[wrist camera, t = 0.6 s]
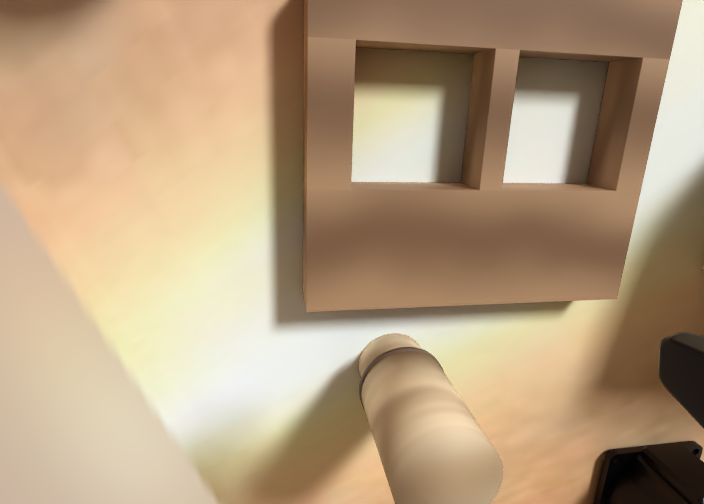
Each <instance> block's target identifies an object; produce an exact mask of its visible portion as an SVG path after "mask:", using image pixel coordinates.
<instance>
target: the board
mask: <svg viewBox="0 0 704 504" xmlns="http://www.w3.org/2000/svg"><path fill="white" fill-rule="evenodd" d="M682 1H683V0H304V59H303V297H304V302H305V307H306V312H321V311H344V310H368V309H391V308H414V307H438V306H461V305H484V304H508V303H531V302H554V301H577V300H601V299H617V296H618V291H619V287H620V282H621V278H622V273H623V269H624V264H625V259H626V255H627V250H628V246H629V241H630V237H631V232H632V228H633V223H634V219H635V214H636V210H637V205H638V200H639V196H640V191H641V187H642V182H643V178H644V173H645V169H646V164H647V160H648V155H649V151H650V146H651V141H652V137H653V132H654V128H655V123H656V119H657V114H658V110H659V105H660V101H661V96H662V92H663V87H664V82H665V78H666V73H667V69H668V64H669V60H670V55H671V51H672V46H673V42H674V37H675V33H676V28H677V23H678V19H679V14H680V10H681V5H682ZM356 47H366V48H382V49H399V50H416V51H433V52H449V53H466V54H474V60H473V70H472V80H471V89H470V99H469V109H468V118H467V128H466V138H465V147H464V157H463V166H462V176H461V183H398V182H351V171H352V141H353V111H354V81H355V51H356ZM519 57H533V58H550V59H567V60H584V61H600V62H609V66H608V72H607V77H606V82H605V88H604V93H603V99H602V104H601V110H600V115H599V120H598V126H597V131H596V137H595V142H594V147H593V153H592V158H591V164H590V169H589V175H588V180H587V184H543V183H503V176H504V169H505V161H506V153H507V146H508V138H509V130H510V123H511V115H512V107H513V100H514V92H515V84H516V77H517V69H518V61H519Z"/></svg>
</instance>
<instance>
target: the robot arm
mask: <svg viewBox="0 0 704 504" xmlns="http://www.w3.org/2000/svg"><path fill="white" fill-rule="evenodd" d="M658 375H659V378H660V380H661V382H662V384H663V385H664V387H665V388H666V389H667V390H668V391H669V392H670V393H671V394H672V395H673V396H674V397H675V398H676V400H677V401H678V402H679V403H680V404H681V405H682V406H683V407H684V408H685V409H686V410H687V411H688V412H689V413H690V414H691V416H692V417H693V418H694V419H695V420H696V421H697V422H698V423H699V424H700V425H701V426H702V427H703V428H704V336H702V335H697V334H693V333H688V332H680V333H677V334H674V335H671V336H669V337H666V338H664V339H663V340H662V341H661V343H660V347H659V366H658ZM701 454H702V447H701V446H700V445H699V444H698V443H696V442H695V441H687V442H677V443H668V444H659V445H650V446H640V447H631V448H622V449H613V450H611V451H609V452H608V453H607V454H606V456H605V460H604V464H603V468H602V472H601V476H600V481H599V485H598V489H597V493H596V497H595V502H594V504H704V462H703V461H701V460H700V457H701Z"/></svg>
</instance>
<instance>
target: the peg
mask: <svg viewBox="0 0 704 504" xmlns="http://www.w3.org/2000/svg"><path fill="white" fill-rule="evenodd" d="M358 369H359V374H360V377H361V381H360V385H359V395H360V400H361V403H362V406H363V408H364V410H365V412H366V415H367V418H368V421H369V424H370V427H371V430H372V434H373V437H374V440H375V443H376V446H377V449H378V452H379V455H380V458H381V461H382V465H383V468H384V471H385V474H386V477H387V480H388V483H389V486H390V489H391V492H392V495H393V499H394V502H395V504H490V503H491V502H492V501H493V499H494V498H495V496H496V495H497V493H498V491H499V489H500V486H501V483H502V479H503V465H502V461H501V458H500V456H499V454H498V453H497V451H496V450H495V448H494V447H493V445H492V444H491V442H490V441H489V439H488V438H487V436H486V435H485V433H484V432H483V430H482V429H481V427H480V426H479V424H478V423H477V421H476V420H475V418H474V417H473V415H472V414H471V412H470V411H469V409H468V408H467V406H466V405H465V403H464V402H463V400H462V399H461V397H460V396H459V394H458V393H457V391H456V390H455V388H454V387H453V385H452V384H451V382H450V381H449V379H448V378H447V376H446V375H445V373H444V371H443V369H442V367H441V365H440V364H439V362H438V361H437V359H436V358H435V357H434V356H433V355H431V354H430V353H429V352H427V351H425V350H423V349H421V348H420V346H419V345H418V343H417V342H416V341H415V340H414V339H412V338H411V337H409V336H406V335H403V334H398V333H393V334H386V335H383V336H380V337H378V338H376V339H375V340H373V341H372V342H371V343H369V344H368V345H367V346H366V348H365V349H364V350H363V352H362V354H361V356H360V359H359V365H358Z"/></svg>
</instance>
